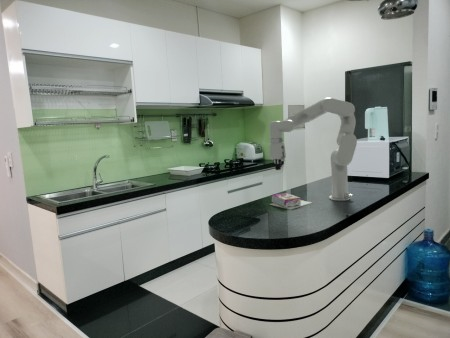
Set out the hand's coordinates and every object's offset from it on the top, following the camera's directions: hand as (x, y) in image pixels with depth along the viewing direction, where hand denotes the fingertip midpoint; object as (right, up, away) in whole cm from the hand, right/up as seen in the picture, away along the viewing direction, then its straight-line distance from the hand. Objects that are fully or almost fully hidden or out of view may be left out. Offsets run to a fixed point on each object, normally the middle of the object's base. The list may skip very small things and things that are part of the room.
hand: (278, 169), depth 215 cm
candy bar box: (+1, -18, +1) cm, 18 cm away
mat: (+7, -21, -6) cm, 23 cm away
